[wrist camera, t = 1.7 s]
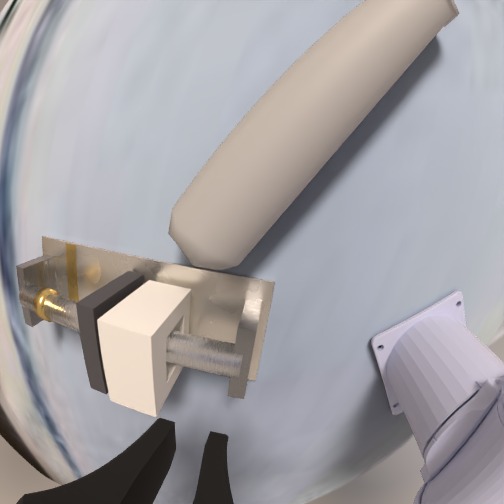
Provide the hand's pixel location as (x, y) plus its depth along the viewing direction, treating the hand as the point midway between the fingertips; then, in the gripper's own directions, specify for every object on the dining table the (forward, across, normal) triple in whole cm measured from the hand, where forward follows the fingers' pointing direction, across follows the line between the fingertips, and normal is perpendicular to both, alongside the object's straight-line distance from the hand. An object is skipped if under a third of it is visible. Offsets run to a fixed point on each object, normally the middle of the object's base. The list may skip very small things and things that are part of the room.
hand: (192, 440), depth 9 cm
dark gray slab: (+10, +7, 0) cm, 12 cm away
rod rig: (+10, +8, 0) cm, 12 cm away
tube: (+10, -4, -16) cm, 19 cm away
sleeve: (+10, +4, 0) cm, 11 cm away
